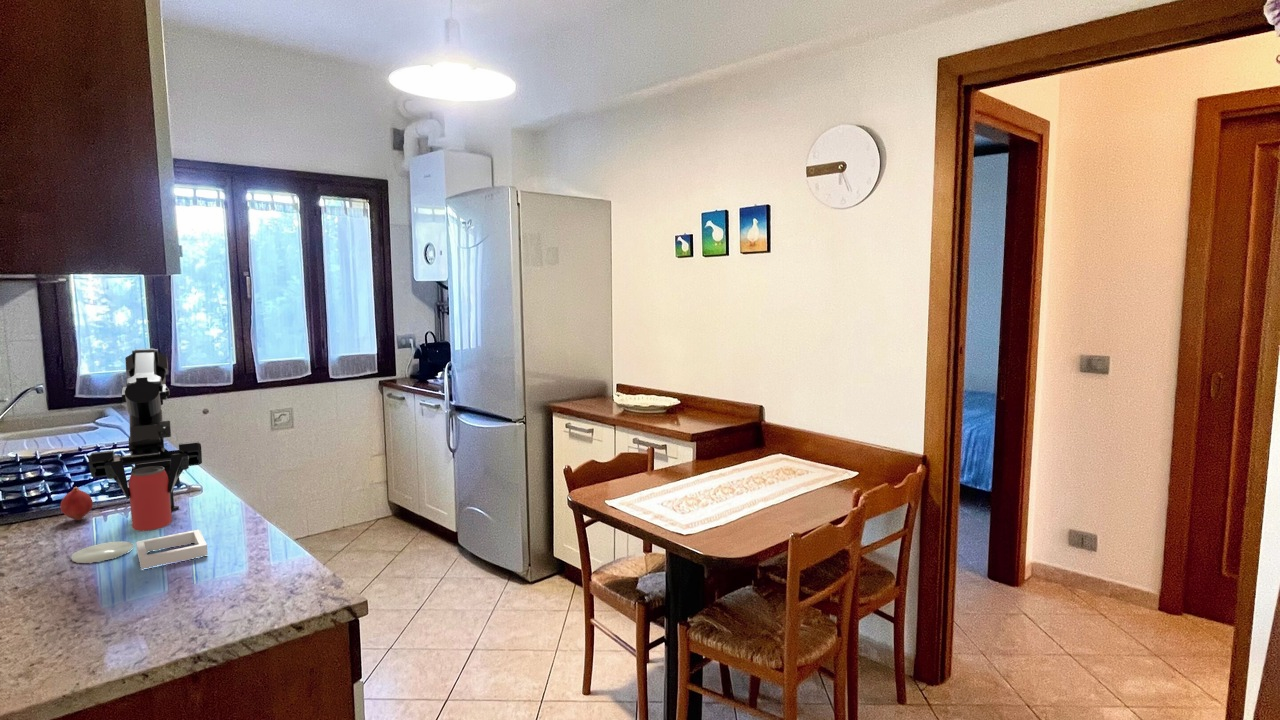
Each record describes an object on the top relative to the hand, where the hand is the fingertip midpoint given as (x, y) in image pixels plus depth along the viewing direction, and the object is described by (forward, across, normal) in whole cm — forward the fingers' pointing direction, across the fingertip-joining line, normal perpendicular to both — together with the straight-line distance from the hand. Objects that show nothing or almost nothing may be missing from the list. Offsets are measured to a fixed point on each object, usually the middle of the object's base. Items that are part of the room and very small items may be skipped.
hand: (149, 494), depth 136 cm
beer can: (+4, 0, +6) cm, 7 cm away
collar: (+10, +3, +9) cm, 14 cm away
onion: (-15, -15, +35) cm, 41 cm away
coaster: (+4, -9, +15) cm, 18 cm away
